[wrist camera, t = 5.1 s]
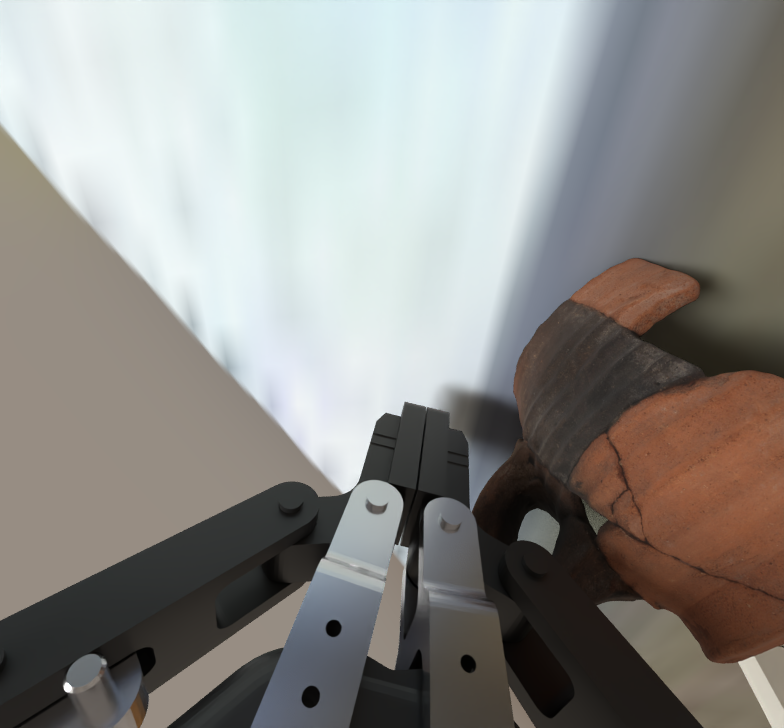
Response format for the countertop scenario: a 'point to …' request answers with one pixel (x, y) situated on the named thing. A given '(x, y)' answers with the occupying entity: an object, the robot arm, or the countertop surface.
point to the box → (768, 683)
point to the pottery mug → (650, 465)
